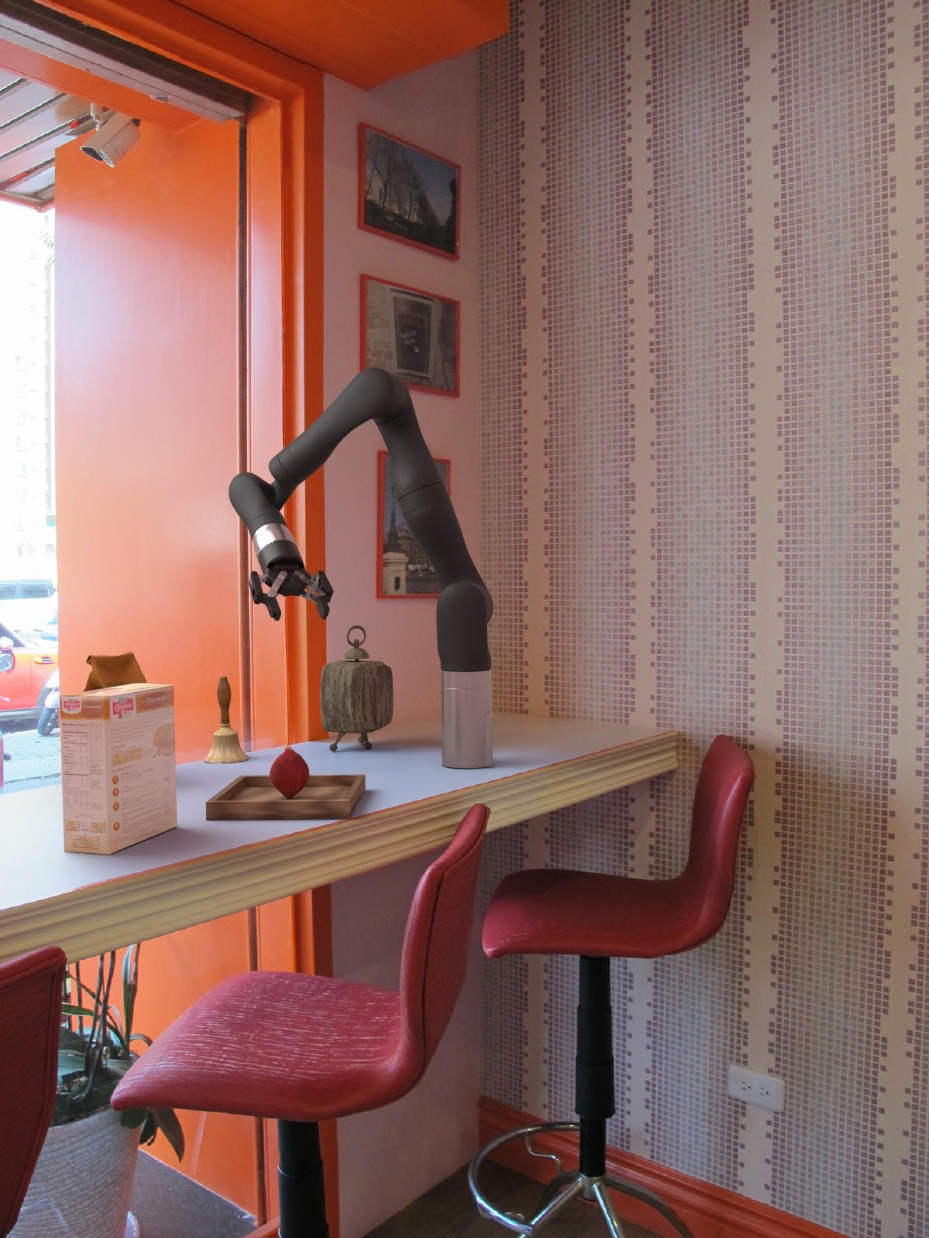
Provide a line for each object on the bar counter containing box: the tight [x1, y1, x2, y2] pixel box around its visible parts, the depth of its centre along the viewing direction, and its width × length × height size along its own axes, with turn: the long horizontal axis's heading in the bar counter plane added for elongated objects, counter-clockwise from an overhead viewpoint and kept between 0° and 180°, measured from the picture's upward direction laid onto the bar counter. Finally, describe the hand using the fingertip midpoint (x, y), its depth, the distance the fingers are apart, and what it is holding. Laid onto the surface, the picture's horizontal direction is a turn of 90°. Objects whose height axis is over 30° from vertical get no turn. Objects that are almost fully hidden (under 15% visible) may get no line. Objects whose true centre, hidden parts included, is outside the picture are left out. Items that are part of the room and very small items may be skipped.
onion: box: [269, 744, 310, 799], centre depth 146 cm, size 6×6×8 cm
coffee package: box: [82, 650, 148, 692], centre depth 164 cm, size 10×12×22 cm
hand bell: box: [203, 676, 249, 764], centre depth 186 cm, size 8×8×16 cm
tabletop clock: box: [319, 624, 394, 752], centre depth 198 cm, size 14×9×25 cm, turn 154°
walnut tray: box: [205, 773, 366, 821], centre depth 146 cm, size 20×20×2 cm
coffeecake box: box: [58, 682, 178, 856], centre depth 126 cm, size 15×7×20 cm, turn 163°
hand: (302, 616), depth 169 cm, fingers open, 8 cm apart
